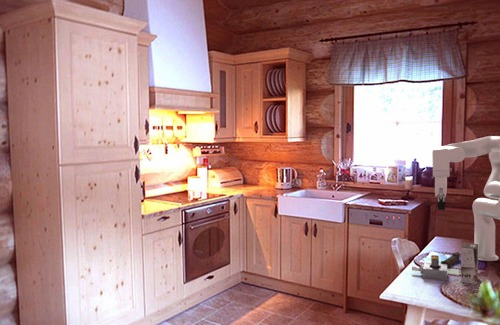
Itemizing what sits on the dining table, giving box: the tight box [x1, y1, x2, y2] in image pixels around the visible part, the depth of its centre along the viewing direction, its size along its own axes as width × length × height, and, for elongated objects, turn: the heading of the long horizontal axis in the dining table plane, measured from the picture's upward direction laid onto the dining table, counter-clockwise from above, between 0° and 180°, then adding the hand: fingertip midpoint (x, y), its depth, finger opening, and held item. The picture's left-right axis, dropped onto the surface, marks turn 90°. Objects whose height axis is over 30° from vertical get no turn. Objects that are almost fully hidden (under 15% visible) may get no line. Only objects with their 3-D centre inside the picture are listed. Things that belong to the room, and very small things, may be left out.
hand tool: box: [440, 251, 461, 269], centre depth 214 cm, size 19×4×5 cm, turn 132°
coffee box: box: [460, 242, 479, 285], centre depth 190 cm, size 9×6×16 cm
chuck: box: [411, 261, 448, 282], centre depth 197 cm, size 10×15×5 cm, turn 64°
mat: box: [447, 267, 460, 276], centre depth 202 cm, size 8×8×1 cm
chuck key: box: [430, 254, 440, 268], centre depth 196 cm, size 3×3×9 cm
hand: (441, 207), depth 209 cm, fingers open, 9 cm apart
